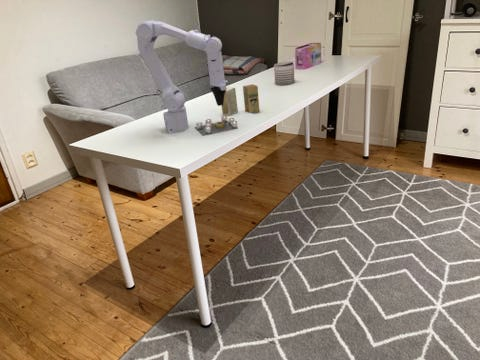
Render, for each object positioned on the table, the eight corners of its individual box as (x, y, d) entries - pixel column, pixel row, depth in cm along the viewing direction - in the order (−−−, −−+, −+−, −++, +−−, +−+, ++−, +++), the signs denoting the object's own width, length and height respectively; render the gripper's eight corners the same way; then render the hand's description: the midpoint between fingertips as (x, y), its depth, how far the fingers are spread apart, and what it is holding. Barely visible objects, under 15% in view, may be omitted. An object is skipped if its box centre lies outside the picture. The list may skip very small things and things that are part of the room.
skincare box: (231, 113, 181) (228, 86, 176) (238, 114, 179) (235, 87, 174) (222, 116, 177) (219, 90, 172) (229, 118, 175) (226, 90, 169)
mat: (202, 137, 154) (202, 135, 153) (194, 129, 165) (194, 127, 164) (238, 130, 158) (238, 128, 158) (227, 122, 169) (227, 120, 169)
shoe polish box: (245, 112, 180) (242, 86, 175) (254, 110, 182) (252, 84, 177) (249, 114, 176) (247, 88, 171) (259, 112, 178) (257, 86, 173)
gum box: (304, 69, 257) (303, 48, 252) (294, 69, 262) (293, 48, 256) (321, 63, 274) (321, 42, 268) (311, 62, 278) (311, 42, 273)
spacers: (203, 135, 154) (202, 129, 152) (195, 127, 164) (194, 121, 163) (239, 127, 158) (239, 121, 157) (229, 120, 168) (229, 114, 167)
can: (285, 86, 219) (284, 64, 214) (270, 84, 227) (269, 63, 222) (298, 82, 225) (298, 61, 220) (284, 80, 233) (283, 60, 228)
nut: (219, 129, 159) (218, 125, 158) (213, 127, 162) (212, 123, 162) (227, 126, 161) (226, 122, 160) (221, 124, 164) (220, 120, 164)
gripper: (232, 71, 147) (235, 107, 152) (220, 66, 159) (223, 99, 165) (214, 74, 144) (218, 110, 150) (203, 69, 157) (207, 102, 163)
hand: (220, 105), depth 157 cm, fingers closed
